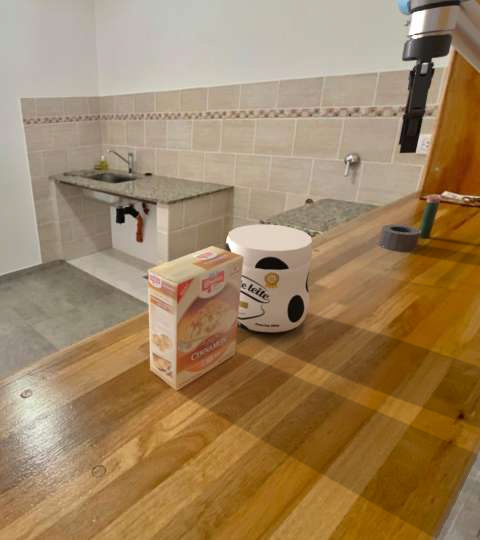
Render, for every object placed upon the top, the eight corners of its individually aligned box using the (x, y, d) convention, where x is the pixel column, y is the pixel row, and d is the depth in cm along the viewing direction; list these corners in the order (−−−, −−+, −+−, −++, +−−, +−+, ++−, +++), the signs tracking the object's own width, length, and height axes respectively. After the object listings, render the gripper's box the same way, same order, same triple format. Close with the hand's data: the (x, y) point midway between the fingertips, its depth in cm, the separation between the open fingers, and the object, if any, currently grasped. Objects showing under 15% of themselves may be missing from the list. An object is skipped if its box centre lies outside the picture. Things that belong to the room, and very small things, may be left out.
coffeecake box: (177, 392, 61) (177, 283, 53) (148, 370, 66) (145, 268, 58) (237, 354, 69) (245, 255, 61) (207, 337, 74) (211, 244, 66)
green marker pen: (428, 235, 116) (440, 196, 111) (429, 239, 113) (441, 199, 108) (416, 234, 117) (427, 196, 112) (417, 237, 115) (428, 198, 110)
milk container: (213, 335, 75) (217, 250, 68) (221, 294, 90) (225, 221, 82) (310, 347, 69) (326, 256, 62) (301, 302, 84) (313, 224, 77)
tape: (414, 242, 111) (419, 226, 109) (417, 253, 104) (422, 236, 102) (378, 238, 116) (381, 223, 114) (378, 248, 109) (382, 232, 107)
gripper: (403, 44, 86) (386, 142, 95) (407, 33, 68) (385, 157, 76) (446, 38, 82) (424, 141, 91) (462, 25, 64) (432, 156, 72)
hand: (406, 148), depth 83 cm, fingers open, 13 cm apart
